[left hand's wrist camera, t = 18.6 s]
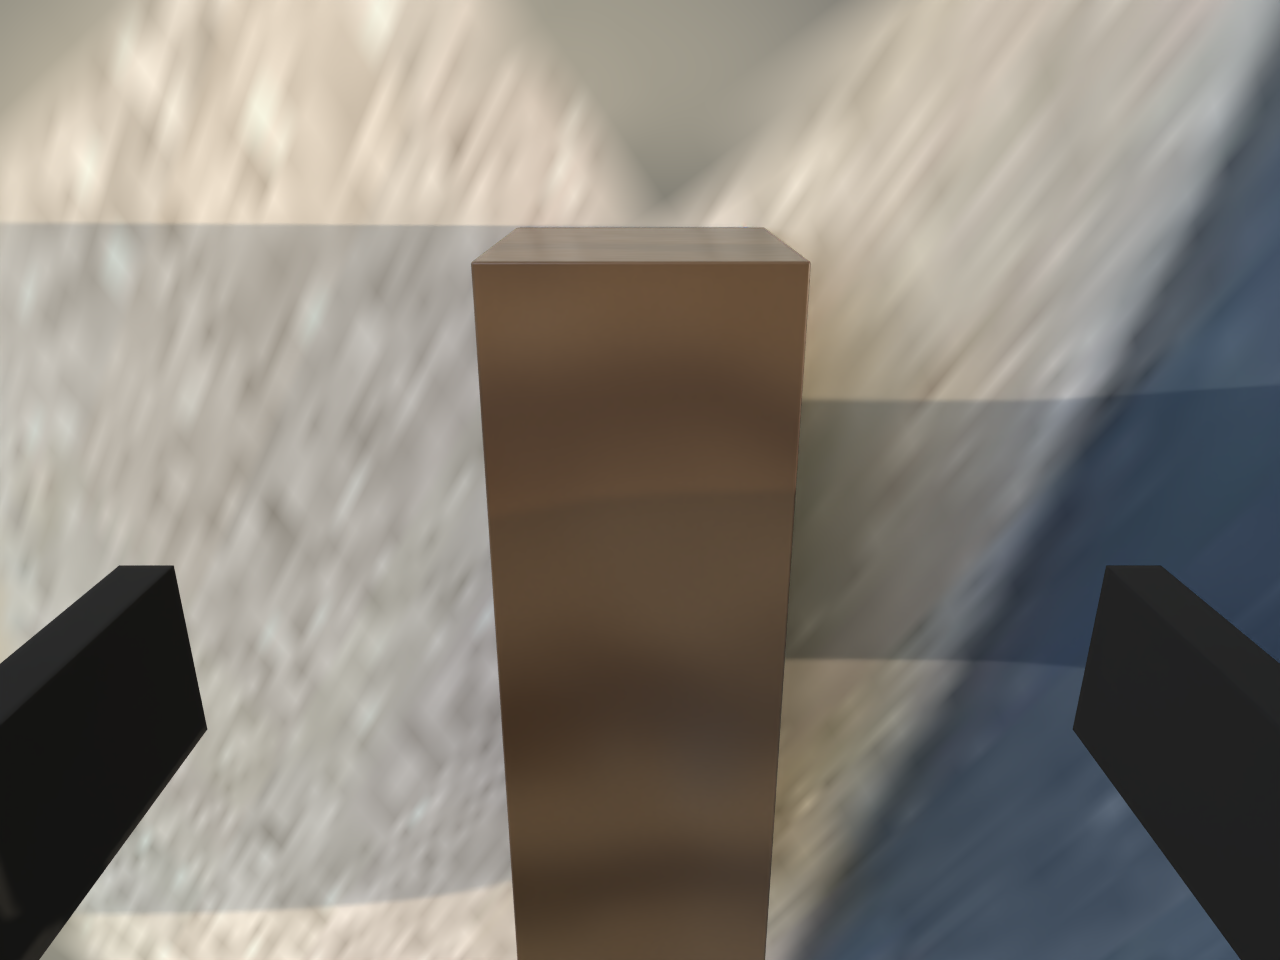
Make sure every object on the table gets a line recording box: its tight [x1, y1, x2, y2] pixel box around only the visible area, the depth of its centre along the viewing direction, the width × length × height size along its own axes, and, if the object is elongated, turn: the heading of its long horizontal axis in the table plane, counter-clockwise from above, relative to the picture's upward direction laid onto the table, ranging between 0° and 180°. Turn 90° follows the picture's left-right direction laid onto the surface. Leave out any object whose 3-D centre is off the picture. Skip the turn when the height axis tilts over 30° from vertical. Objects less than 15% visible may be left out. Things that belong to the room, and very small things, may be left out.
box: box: [471, 228, 811, 960], centre depth 33 cm, size 27×9×9 cm, turn 0°
